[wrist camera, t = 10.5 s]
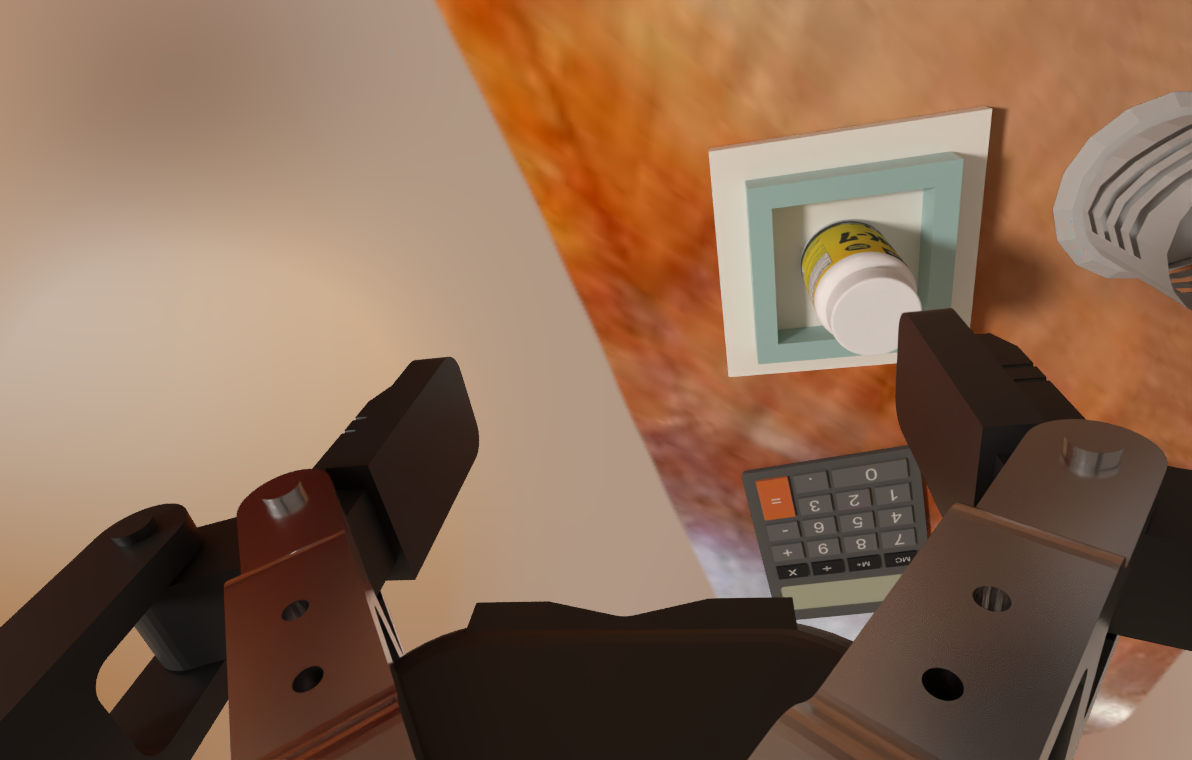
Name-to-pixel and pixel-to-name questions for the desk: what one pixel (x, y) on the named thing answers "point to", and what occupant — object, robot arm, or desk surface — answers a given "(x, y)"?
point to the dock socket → (843, 192)
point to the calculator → (838, 528)
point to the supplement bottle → (858, 286)
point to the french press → (1133, 197)
